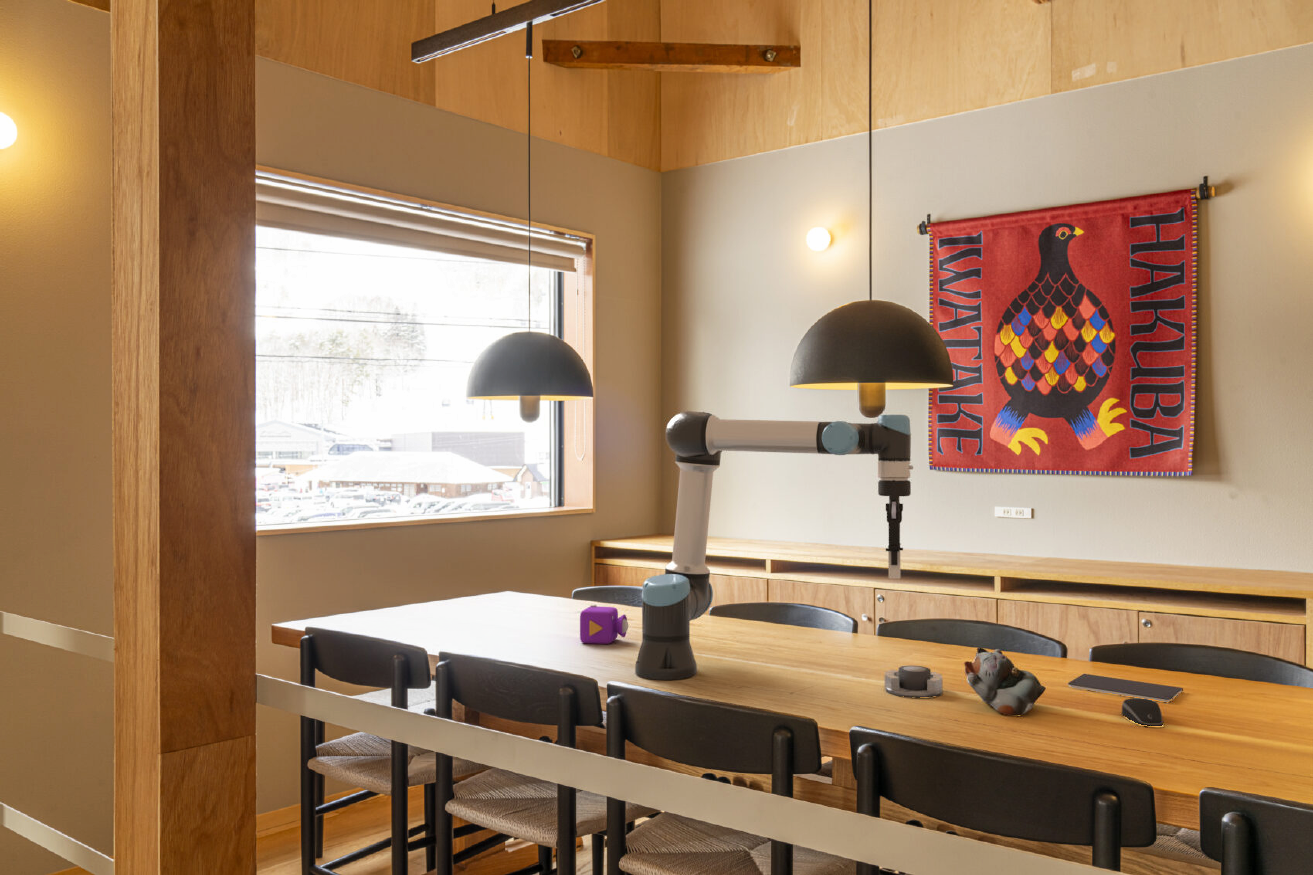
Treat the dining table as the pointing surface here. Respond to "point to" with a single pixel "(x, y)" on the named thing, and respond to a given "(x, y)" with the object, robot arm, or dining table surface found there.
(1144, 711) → the computer mouse
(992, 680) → the lucky cat figurine
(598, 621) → the toy camera
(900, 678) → the cylinder
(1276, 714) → the dining table surface
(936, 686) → the barrel ring
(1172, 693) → the notebook
